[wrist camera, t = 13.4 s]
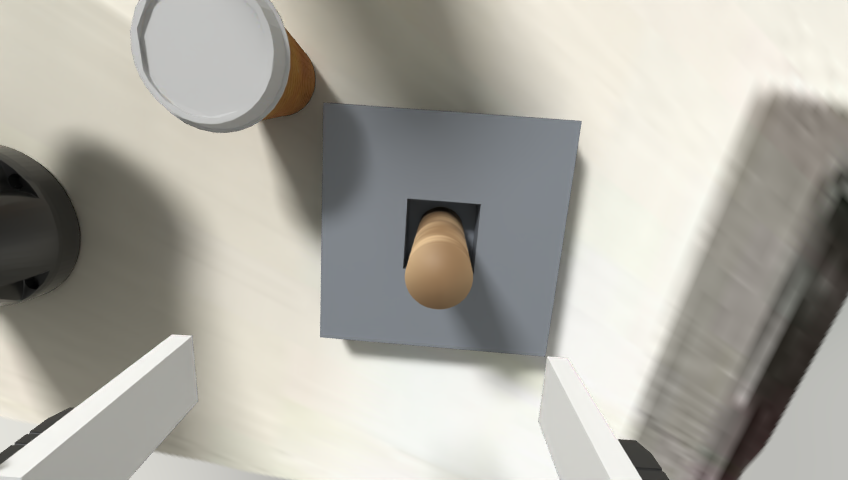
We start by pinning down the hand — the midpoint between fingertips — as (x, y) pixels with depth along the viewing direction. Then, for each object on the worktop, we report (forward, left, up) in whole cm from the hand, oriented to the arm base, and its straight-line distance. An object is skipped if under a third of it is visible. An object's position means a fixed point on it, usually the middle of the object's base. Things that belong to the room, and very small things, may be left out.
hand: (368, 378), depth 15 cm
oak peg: (+2, +1, -23) cm, 24 cm away
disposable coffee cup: (-12, +13, -24) cm, 30 cm away
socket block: (+3, +1, -24) cm, 24 cm away
